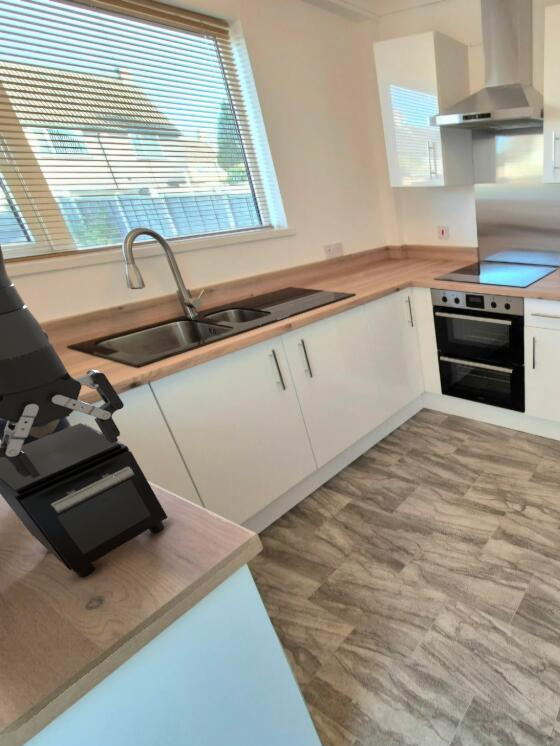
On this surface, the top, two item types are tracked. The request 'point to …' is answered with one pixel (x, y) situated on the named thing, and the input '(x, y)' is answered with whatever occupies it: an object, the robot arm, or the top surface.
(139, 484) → the oven door
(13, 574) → the top surface
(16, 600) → the top surface
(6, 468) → the oven
